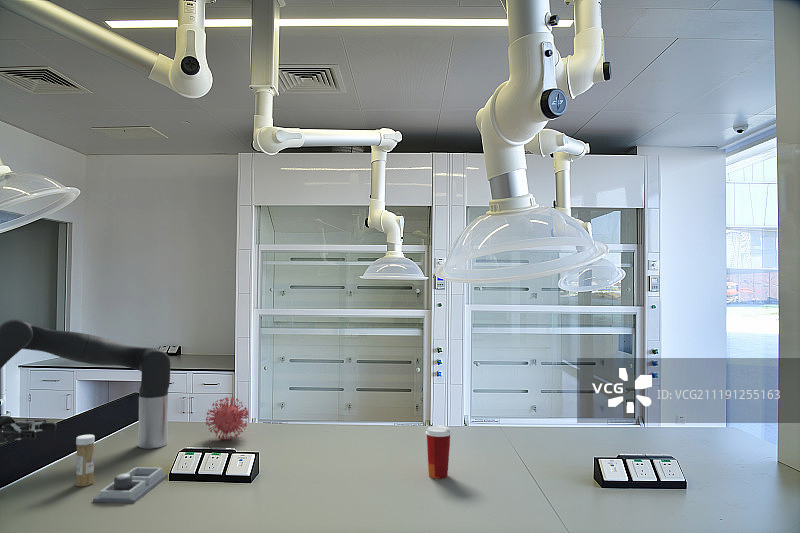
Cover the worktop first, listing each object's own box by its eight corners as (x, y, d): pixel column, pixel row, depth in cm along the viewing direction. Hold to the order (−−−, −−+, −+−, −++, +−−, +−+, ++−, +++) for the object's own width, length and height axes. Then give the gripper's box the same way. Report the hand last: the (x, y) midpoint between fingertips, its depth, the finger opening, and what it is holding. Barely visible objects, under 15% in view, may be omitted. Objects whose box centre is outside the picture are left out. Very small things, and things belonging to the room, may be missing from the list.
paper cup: (454, 473, 173) (455, 427, 173) (445, 481, 166) (446, 433, 166) (430, 469, 176) (430, 424, 176) (420, 477, 169) (421, 430, 169)
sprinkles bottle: (94, 485, 161) (95, 437, 161) (76, 488, 158) (76, 439, 158) (92, 480, 165) (93, 433, 165) (74, 483, 162) (75, 435, 162)
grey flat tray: (130, 475, 168) (130, 457, 168) (167, 476, 168) (167, 458, 168) (92, 501, 149) (93, 481, 149) (134, 502, 149) (134, 482, 149)
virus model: (207, 434, 212) (207, 394, 212) (248, 432, 215) (249, 392, 216) (203, 446, 198) (204, 403, 198) (247, 443, 201) (248, 401, 201)
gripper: (-29, 421, 155) (29, 423, 155) (9, 410, 170) (62, 411, 169) (-30, 449, 155) (28, 451, 155) (8, 435, 170) (61, 437, 169)
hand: (46, 430), depth 162 cm, fingers open, 8 cm apart
